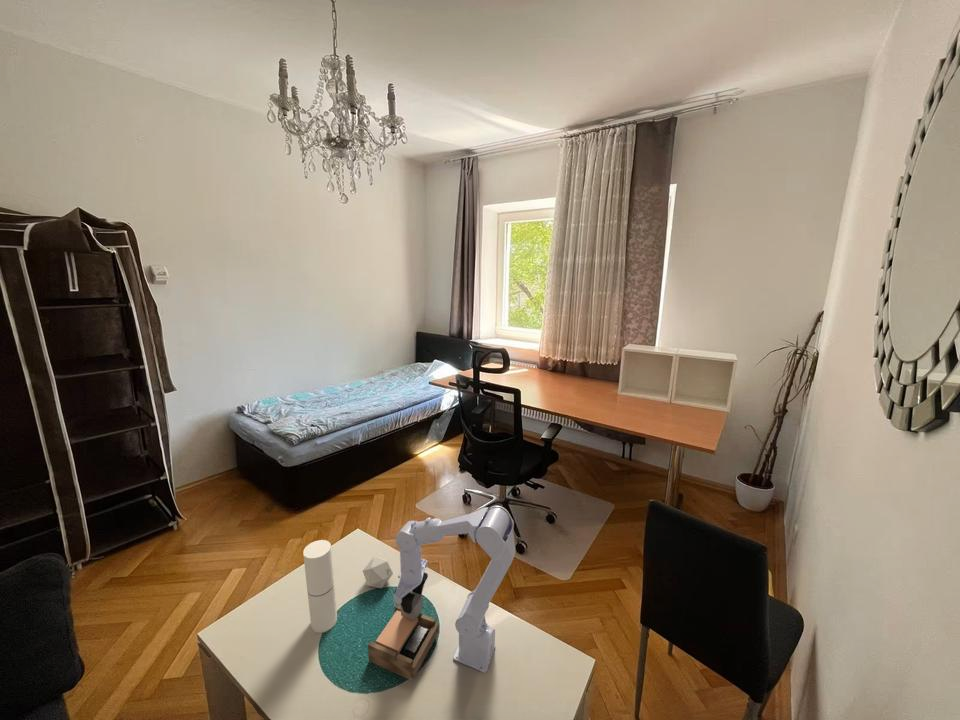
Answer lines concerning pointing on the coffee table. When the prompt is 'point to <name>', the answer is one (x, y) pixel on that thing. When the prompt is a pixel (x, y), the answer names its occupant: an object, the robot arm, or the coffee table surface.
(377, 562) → the die
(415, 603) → the stone
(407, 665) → the frame
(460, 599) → the coffee table surface
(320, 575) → the cylindrical container
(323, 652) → the coffee table surface
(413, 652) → the trapdoor
